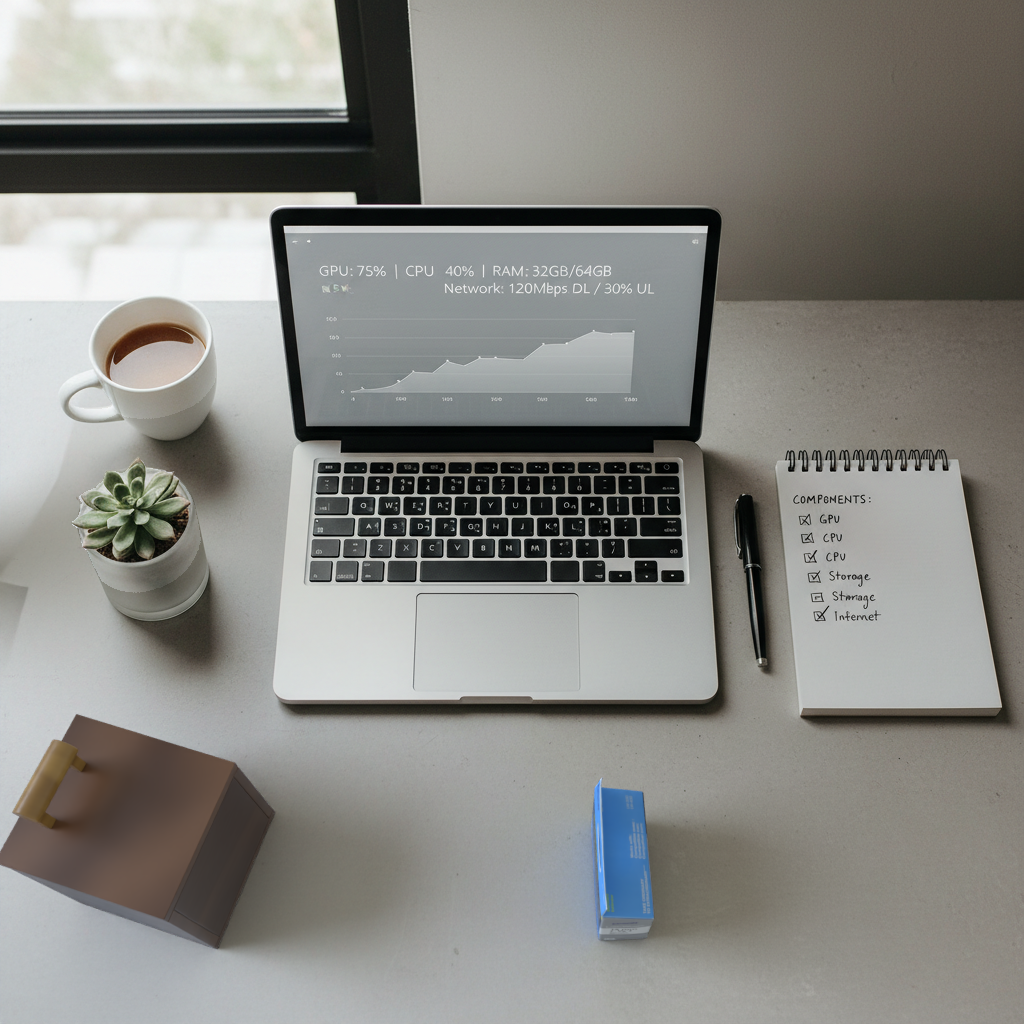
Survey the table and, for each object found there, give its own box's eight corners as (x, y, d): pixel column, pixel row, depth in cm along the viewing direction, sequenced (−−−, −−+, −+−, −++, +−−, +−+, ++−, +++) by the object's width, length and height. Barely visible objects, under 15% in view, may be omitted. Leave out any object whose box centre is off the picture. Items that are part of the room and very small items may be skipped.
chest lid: (-1, 864, 65) (-36, 847, 61) (80, 717, 71) (53, 692, 66) (167, 922, 63) (143, 908, 59) (238, 766, 69) (220, 743, 64)
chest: (79, 902, 75) (10, 868, 65) (145, 771, 81) (90, 721, 71) (217, 949, 73) (168, 922, 63) (275, 811, 79) (238, 766, 69)
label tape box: (647, 941, 73) (666, 910, 63) (592, 942, 73) (602, 911, 63) (637, 820, 78) (654, 773, 67) (586, 821, 78) (594, 774, 67)
